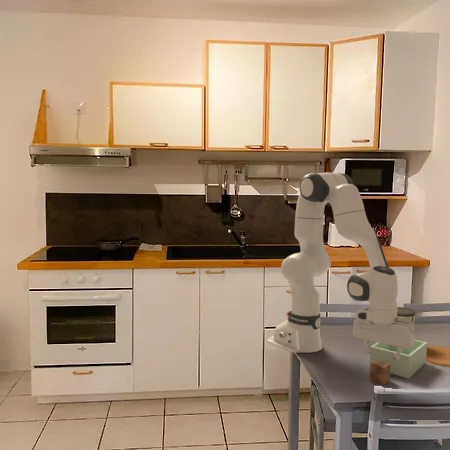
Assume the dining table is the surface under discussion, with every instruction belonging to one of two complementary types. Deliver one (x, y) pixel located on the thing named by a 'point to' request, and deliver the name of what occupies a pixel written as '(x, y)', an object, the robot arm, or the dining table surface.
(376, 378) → the block
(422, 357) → the bin
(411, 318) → the coffee can
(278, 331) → the robot arm
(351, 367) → the dining table surface
